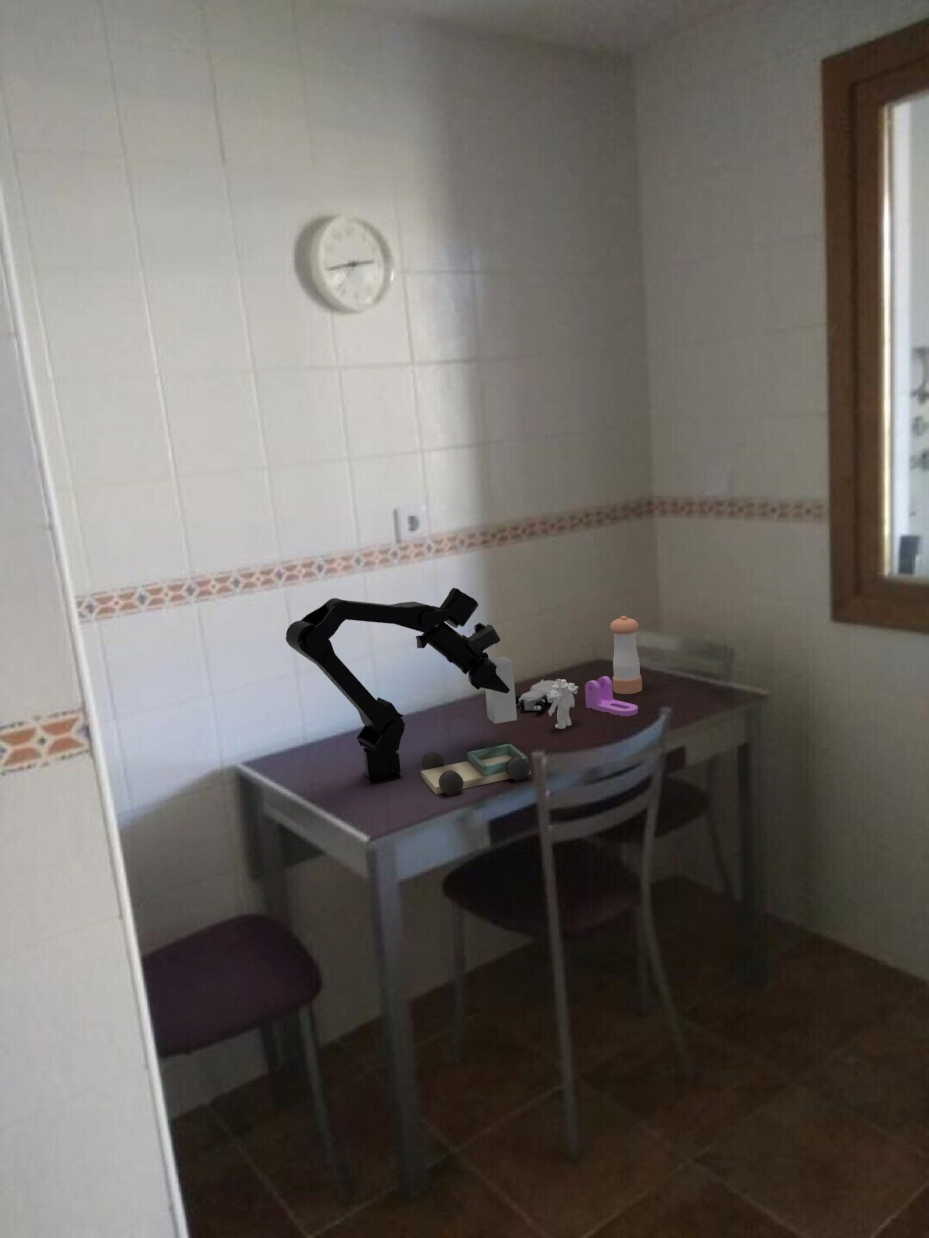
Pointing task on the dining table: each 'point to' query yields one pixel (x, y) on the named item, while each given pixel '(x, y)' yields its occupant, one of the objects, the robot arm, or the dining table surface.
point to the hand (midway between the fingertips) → (505, 688)
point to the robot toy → (536, 696)
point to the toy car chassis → (475, 768)
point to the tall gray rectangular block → (502, 694)
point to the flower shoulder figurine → (562, 702)
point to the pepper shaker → (626, 657)
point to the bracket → (606, 698)
